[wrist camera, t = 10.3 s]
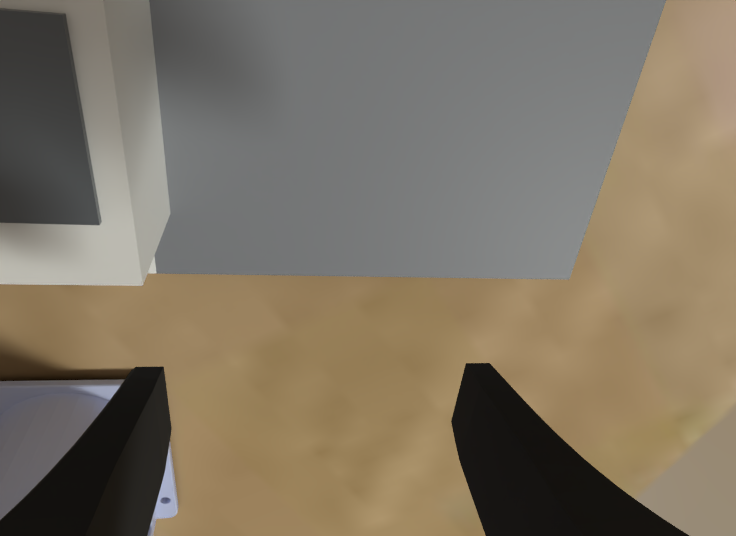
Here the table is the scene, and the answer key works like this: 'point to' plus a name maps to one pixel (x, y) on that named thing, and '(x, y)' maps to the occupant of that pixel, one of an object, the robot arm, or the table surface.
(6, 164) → the block
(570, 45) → the board
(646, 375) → the table surface
